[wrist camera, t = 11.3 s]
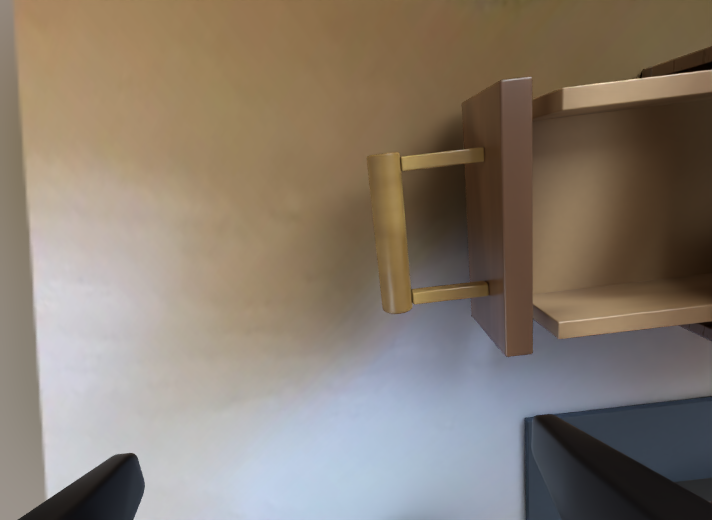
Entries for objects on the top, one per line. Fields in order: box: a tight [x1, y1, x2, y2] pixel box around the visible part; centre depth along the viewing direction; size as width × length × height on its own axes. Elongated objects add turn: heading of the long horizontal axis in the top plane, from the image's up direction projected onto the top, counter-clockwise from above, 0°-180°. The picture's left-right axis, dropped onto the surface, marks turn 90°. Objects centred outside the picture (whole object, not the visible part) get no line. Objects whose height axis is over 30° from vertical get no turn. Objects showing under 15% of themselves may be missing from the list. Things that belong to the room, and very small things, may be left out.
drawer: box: [367, 70, 712, 357], centre depth 17 cm, size 18×11×5 cm, turn 97°
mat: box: [525, 397, 712, 520], centre depth 24 cm, size 22×15×1 cm
